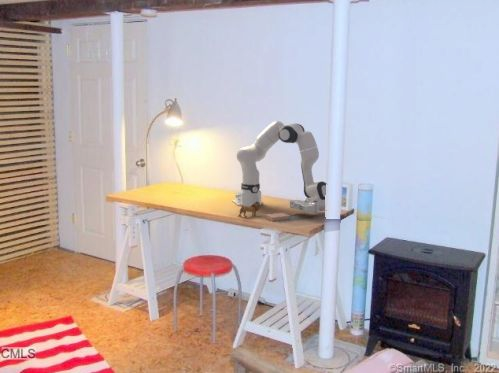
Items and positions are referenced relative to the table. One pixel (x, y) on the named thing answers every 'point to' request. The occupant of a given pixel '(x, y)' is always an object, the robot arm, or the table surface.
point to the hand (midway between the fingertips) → (291, 207)
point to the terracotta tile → (277, 216)
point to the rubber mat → (291, 218)
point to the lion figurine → (250, 208)
